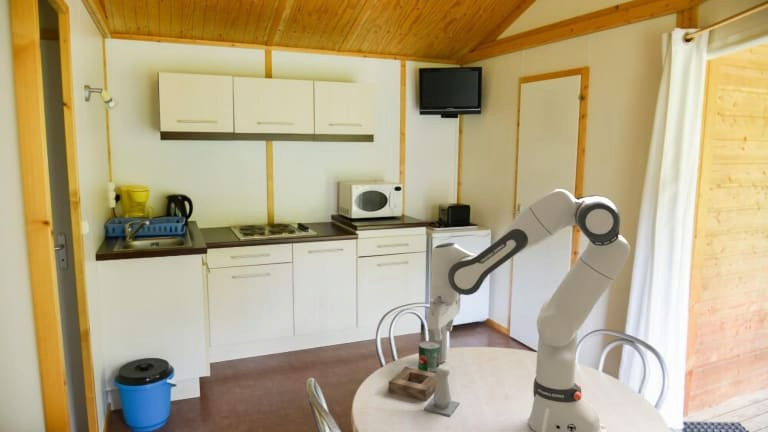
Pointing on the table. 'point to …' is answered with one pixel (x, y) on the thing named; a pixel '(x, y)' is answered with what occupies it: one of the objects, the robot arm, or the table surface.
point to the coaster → (444, 411)
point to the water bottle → (442, 342)
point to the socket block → (413, 383)
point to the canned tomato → (428, 356)
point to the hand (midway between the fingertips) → (443, 335)
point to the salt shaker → (442, 388)
